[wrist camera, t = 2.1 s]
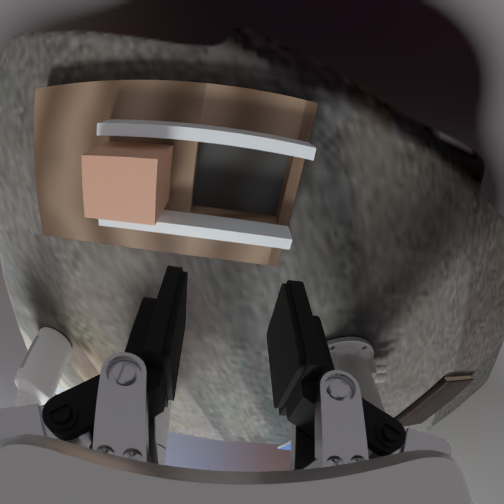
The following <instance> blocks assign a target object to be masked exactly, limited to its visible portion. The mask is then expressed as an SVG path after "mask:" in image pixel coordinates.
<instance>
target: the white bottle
mask: <svg viewBox="0 0 504 504" xmlns="http://www.w3.org/2000/svg"><path fill="white" fill-rule="evenodd" d="M71 351H72V347H71V344H70V343H69V341H68V340H67V339H66V338H65V336H63V335H62V334H61V333H60V332H58V331H56V330H55V329H52V328H49V327H43V328H41V329H40V330H39V332H38V333H37V335H36V337H35V339H34V341H33V343H32V344H31V346H30V348H29V350H28V352H27V354H26V356H25V358H24V360H23V362H22V364H21V366H20V368H19V370H18V373H17V374H16V377H15V384H16V386H17V387H18V389H19V392H18V394H17V396H16V400H15V403H14V405H13V407H17V406H24V405H30V404H36V403H38V405H39V406H40V405H41V404H42V405H45V403H46V402H47V401H48V400H49V399H50V398H52V397H53V396H54V394H55V391H56V389H57V386H58V384H59V381H60V378H61V376H62V373H63V371H64V369H65V366H66V364H67V361H68V359H69V357H70V354H71Z"/></svg>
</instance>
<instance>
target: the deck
mask: <svg viewBox="0 0 504 504" xmlns="http://www.w3.org/2000/svg"><path fill="white" fill-rule="evenodd" d="M317 105H318V103H316V102H312V101H308V100H304V99H299V98H295V97H291V96H286V95H281V94H276V93H271V92H266V91H260V90H254V89H248V88H242V87H235V86H227V85H219V84H210V83H200V82H188V81H171V80H109V81H92V82H81V83H71V84H63V85H55V86H48V87H42V88H36V89H35V103H34V158H35V173H36V184H37V193H38V202H39V209H40V216H41V222H42V228H43V233H44V235H46V236H53V237H59V238H66V239H73V240H81V241H88V242H95V243H102V244H109V245H117V246H124V247H131V248H139V249H146V250H154V251H161V252H169V253H177V254H184V255H192V256H200V257H208V258H216V259H224V260H232V261H240V262H248V263H256V264H264V265H273V266H277V265H278V262H279V258H280V254H281V251H282V248H274V247H266V246H259V245H251V244H244V243H236V242H228V241H220V240H213V239H205V238H197V237H189V236H181V235H173V234H165V233H157V232H149V231H141V230H133V229H124V228H116V227H108V226H100V225H99V221H98V219H95V218H86V217H85V215H84V203H83V188H82V156H81V155H83V154H85V153H87V152H89V151H91V150H92V149H94V148H96V147H98V146H100V145H102V144H104V143H106V142H108V141H111V142H135V143H152V144H165V145H173V155H172V166H171V178H170V193H169V201H168V203H167V205H166V206H165V208H164V210H170V211H179V212H187V213H195V214H203V215H211V216H219V217H226V218H234V219H241V220H248V221H255V222H262V223H269V224H276V225H283V226H288V224H289V220H290V216H291V213H292V209H293V205H294V201H295V197H296V193H297V189H298V185H299V181H300V177H301V173H302V169H303V165H304V160H305V159H304V158H299V157H294V156H289V155H284V154H279V153H273V152H268V151H262V150H256V149H250V148H243V147H237V146H230V145H222V144H214V143H206V142H197V141H188V140H177V139H165V138H151V137H133V136H97V123H100V122H103V121H106V120H109V119H126V120H153V121H169V122H182V123H192V124H202V125H211V126H219V127H227V128H234V129H241V130H247V131H254V132H259V133H265V134H271V135H276V136H281V137H286V138H291V139H296V140H301V141H305V142H309V140H310V135H311V131H312V127H313V122H314V118H315V114H316V109H317Z"/></svg>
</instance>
